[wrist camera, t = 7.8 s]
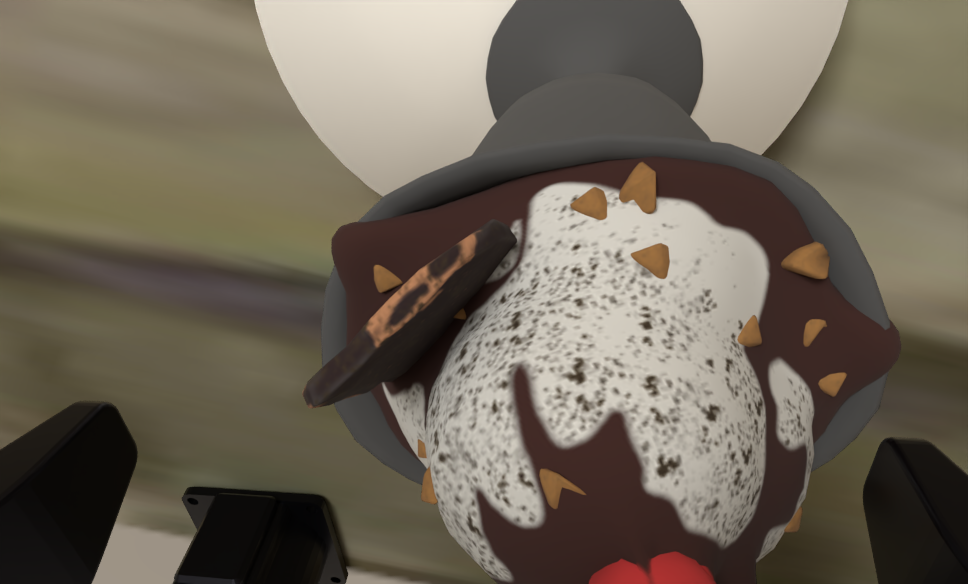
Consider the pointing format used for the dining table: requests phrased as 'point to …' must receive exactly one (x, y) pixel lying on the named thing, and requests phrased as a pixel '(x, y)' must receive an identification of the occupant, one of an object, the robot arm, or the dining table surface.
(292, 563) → the robot arm
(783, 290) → the sundae
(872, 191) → the dining table surface
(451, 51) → the stand
